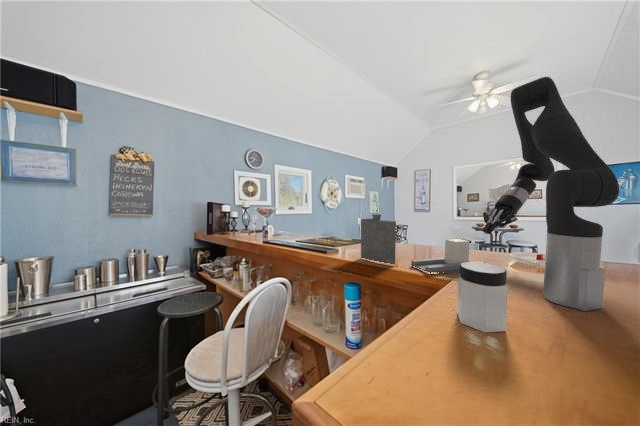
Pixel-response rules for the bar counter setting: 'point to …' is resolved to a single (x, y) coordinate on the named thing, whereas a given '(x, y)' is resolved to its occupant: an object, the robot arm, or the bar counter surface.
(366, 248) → the hip flask
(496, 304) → the jar
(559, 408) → the bar counter surface
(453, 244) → the block
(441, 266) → the chute
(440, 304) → the bar counter surface
